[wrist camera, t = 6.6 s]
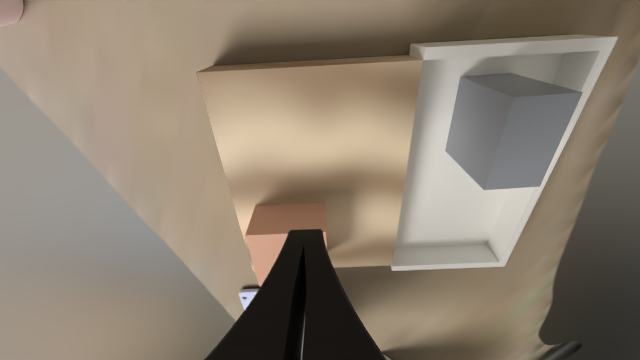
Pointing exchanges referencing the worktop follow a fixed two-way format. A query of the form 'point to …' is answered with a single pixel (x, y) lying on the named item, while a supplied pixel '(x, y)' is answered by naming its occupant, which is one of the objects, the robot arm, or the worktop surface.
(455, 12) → the worktop surface
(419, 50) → the tray
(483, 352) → the worktop surface
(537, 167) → the grey block
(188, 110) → the worktop surface
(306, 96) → the board
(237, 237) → the worktop surface
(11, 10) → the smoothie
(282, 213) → the salmon pink block
